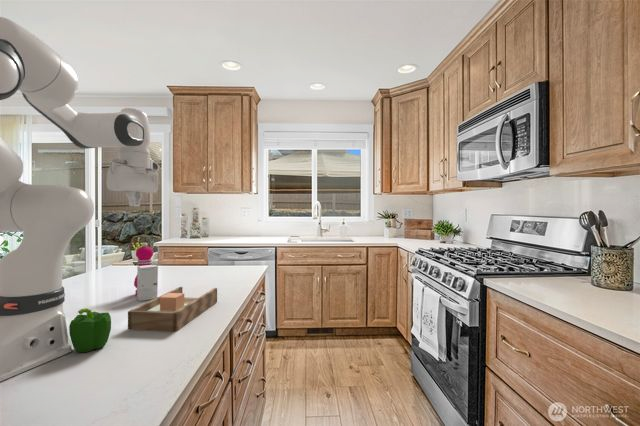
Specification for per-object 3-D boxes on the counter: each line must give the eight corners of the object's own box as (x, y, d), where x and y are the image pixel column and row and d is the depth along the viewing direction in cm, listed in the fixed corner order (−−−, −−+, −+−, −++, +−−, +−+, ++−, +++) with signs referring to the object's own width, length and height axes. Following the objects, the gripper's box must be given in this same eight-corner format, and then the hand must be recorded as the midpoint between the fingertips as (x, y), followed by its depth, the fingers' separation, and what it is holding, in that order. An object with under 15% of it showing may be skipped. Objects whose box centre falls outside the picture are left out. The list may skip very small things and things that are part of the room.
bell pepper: (104, 338, 84) (104, 299, 84) (116, 347, 79) (116, 306, 79) (64, 348, 78) (63, 307, 77) (74, 359, 72) (73, 314, 72)
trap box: (176, 331, 89) (176, 313, 89) (127, 329, 90) (127, 311, 90) (217, 301, 117) (217, 288, 117) (179, 300, 118) (179, 286, 118)
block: (176, 311, 97) (176, 297, 97) (159, 310, 97) (159, 297, 97) (184, 305, 102) (184, 293, 102) (169, 305, 102) (169, 292, 102)
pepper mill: (159, 291, 130) (159, 241, 129) (147, 296, 123) (147, 243, 122) (141, 291, 131) (141, 241, 130) (129, 296, 123) (129, 243, 123)
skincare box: (140, 301, 116) (140, 267, 116) (136, 299, 120) (136, 266, 119) (158, 298, 121) (158, 265, 120) (154, 295, 124) (154, 264, 124)
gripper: (121, 157, 92) (121, 206, 93) (162, 166, 113) (162, 206, 113) (100, 157, 93) (100, 206, 93) (144, 166, 113) (144, 206, 113)
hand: (134, 206), depth 103 cm, fingers closed
